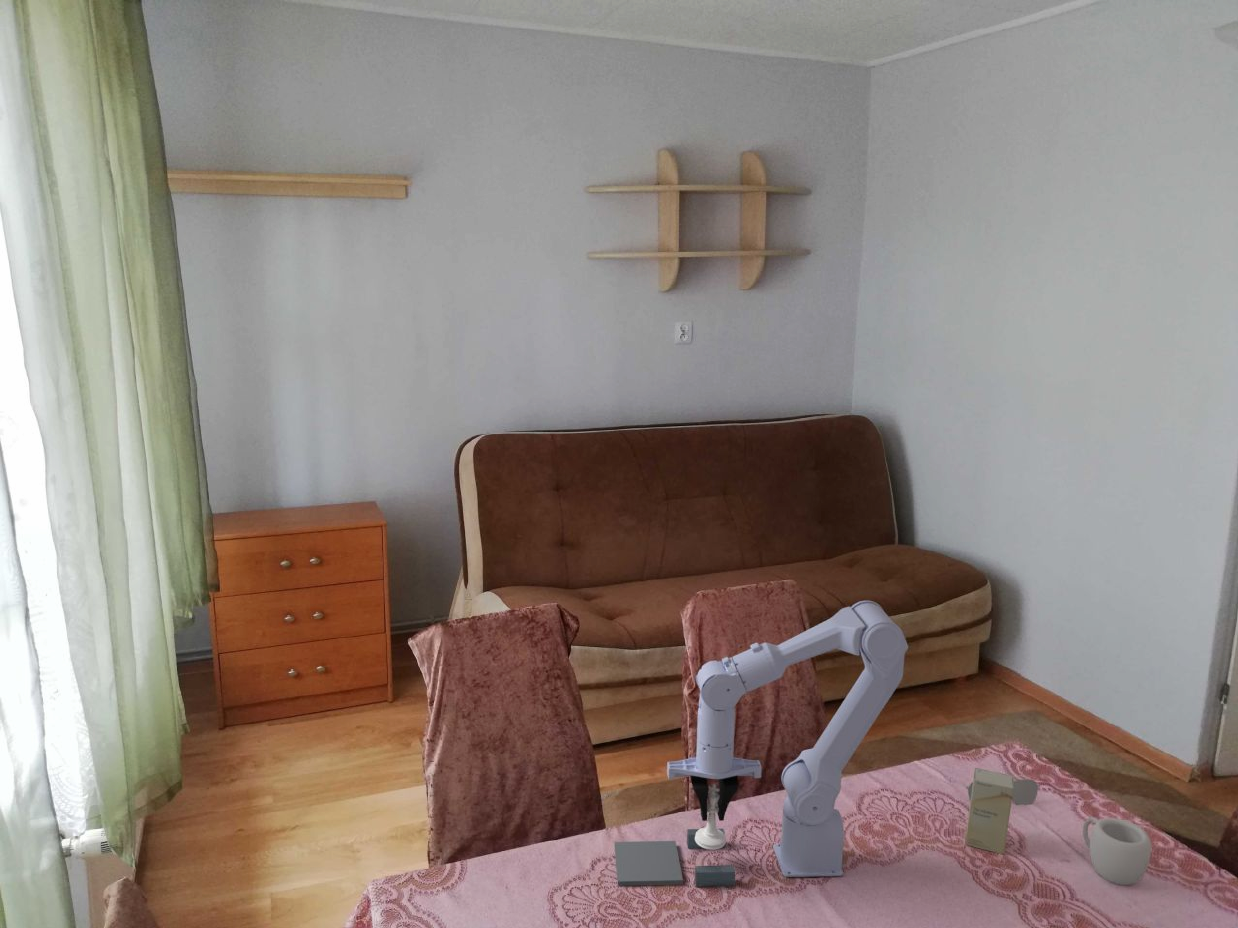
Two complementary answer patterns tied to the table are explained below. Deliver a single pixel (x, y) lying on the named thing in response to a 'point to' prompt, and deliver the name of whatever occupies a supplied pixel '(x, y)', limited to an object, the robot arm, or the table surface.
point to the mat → (647, 863)
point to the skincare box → (989, 810)
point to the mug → (1118, 849)
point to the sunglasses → (1018, 791)
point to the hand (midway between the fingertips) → (712, 816)
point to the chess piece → (711, 825)
